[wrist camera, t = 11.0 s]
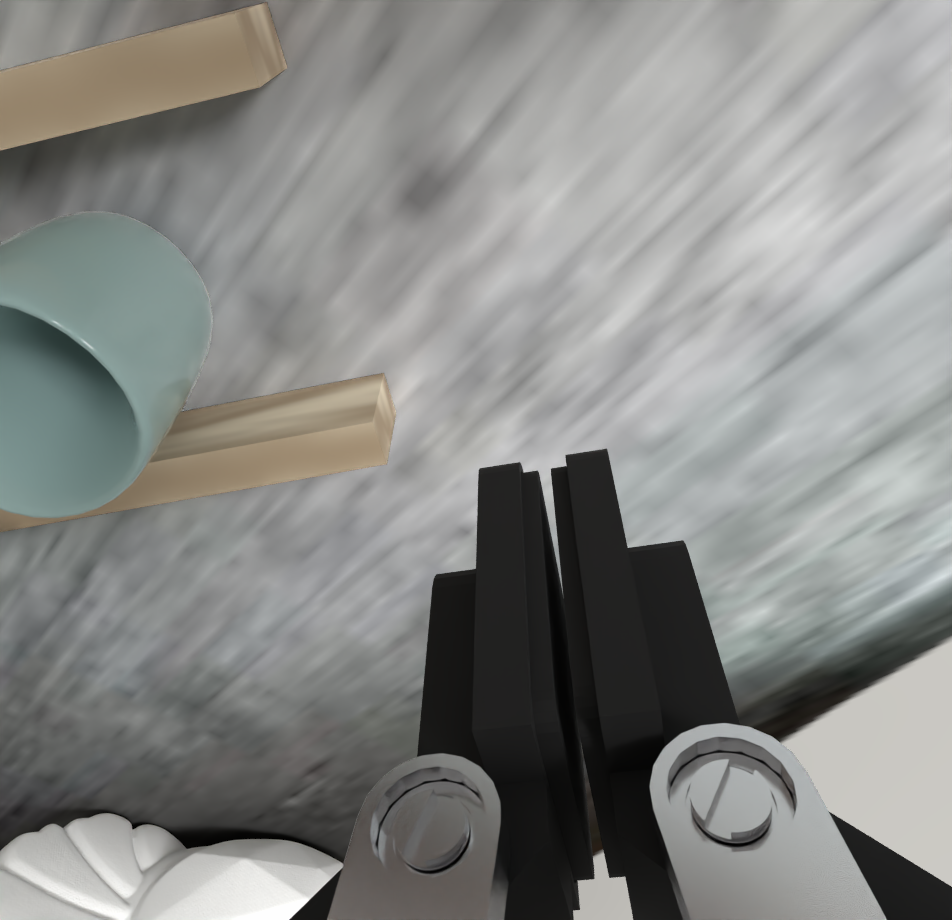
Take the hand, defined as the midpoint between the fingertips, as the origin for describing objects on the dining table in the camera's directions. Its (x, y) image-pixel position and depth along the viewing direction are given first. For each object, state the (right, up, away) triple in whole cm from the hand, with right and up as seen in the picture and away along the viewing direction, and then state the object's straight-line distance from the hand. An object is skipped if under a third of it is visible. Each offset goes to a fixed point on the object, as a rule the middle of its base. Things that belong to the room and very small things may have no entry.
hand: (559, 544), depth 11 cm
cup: (-15, +8, +21) cm, 27 cm away
